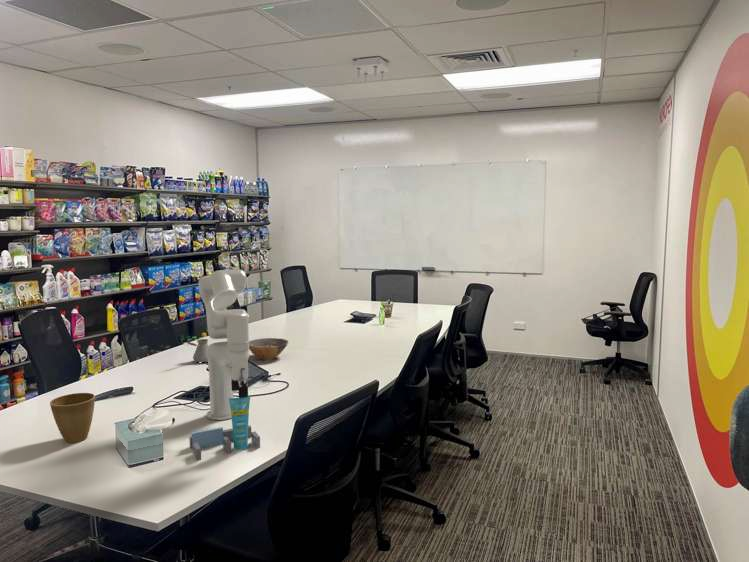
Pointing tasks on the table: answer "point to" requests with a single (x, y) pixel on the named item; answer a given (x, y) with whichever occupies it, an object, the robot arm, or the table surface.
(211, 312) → the robot arm
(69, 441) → the plant pot
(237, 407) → the tube
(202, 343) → the coffee pot
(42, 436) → the table surface
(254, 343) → the bowl
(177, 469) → the table surface
